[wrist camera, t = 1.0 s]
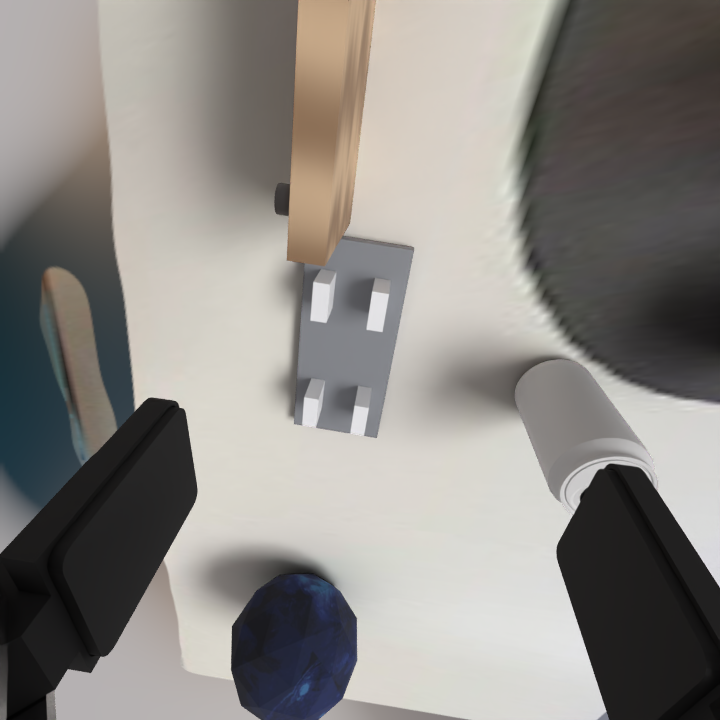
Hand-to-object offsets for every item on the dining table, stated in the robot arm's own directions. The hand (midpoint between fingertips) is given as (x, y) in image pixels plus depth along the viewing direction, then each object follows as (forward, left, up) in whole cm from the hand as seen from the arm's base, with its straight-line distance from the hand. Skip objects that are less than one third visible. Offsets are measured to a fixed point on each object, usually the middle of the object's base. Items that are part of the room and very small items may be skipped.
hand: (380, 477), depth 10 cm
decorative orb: (+46, -4, -25) cm, 52 cm away
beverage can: (+11, +15, -25) cm, 31 cm away
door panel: (-8, -5, -25) cm, 27 cm away
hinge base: (+10, -3, -25) cm, 27 cm away
